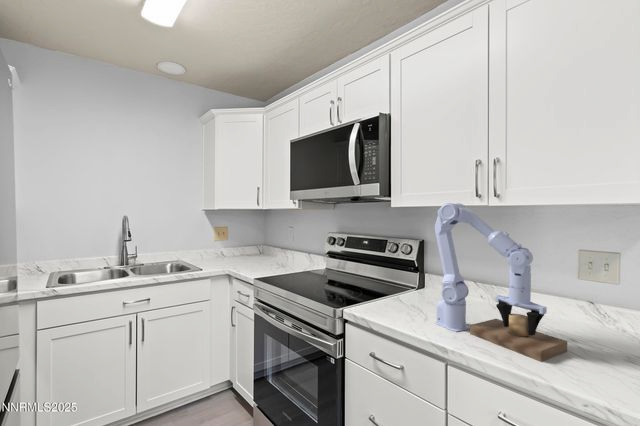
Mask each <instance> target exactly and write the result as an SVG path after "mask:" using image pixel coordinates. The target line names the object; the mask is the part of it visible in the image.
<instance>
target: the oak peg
mask: <svg viewBox="0 0 640 426" xmlns="http://www.w3.org/2000/svg"><path fill="white" fill-rule="evenodd" d="M528 328H529V324H528V317H527V315H524V314H519V313H511V314H509V333H510V334H512V335H514V336H518V337H529V332H528Z"/></svg>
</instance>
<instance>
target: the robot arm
mask: <svg viewBox="0 0 640 426" xmlns="http://www.w3.org/2000/svg"><path fill="white" fill-rule="evenodd" d="M458 223H464V224H468V225H470V226H471V227H472V228H474V229H475V230H476V231H478V232H479V233H481V234H482V235H483V236H484V237H486V239H487V243H488V245H489V246H490V247H491V248H493V250H495V251H497V252H498V253H499V254H500V255H501V256H503V258H505V259H506V261H507V263H508V264H509V271H508V272H509V277H508V278H509V279H508V280H509V281H508V285H509V286H508V296H504V295H495V300H494V301H495V302H496V303H497V304H496V306H495V307H496V308H497V310H498V311H499V312H498V313H499V314H500V317H501V320H502V321H503V324H504V327H509V314H512V309H513V307H517V308H520V309H523V310H527V312H526V316H527V317H528V324H529V328H528V332H529V335H531V336H532V335H535V332H536V331H537V329H538V326H539V324H540V321H541V320H542V319H543V317H544V316H545V314H547V306H543V305H541V304H538V303H535V302H532V301H531V299H532V298H531V295H532V294H531V293H532V292H531V291H532V290H531V289H532V288H531V287H532V284H531V283H532V280H531V279H532V273H531V270H532V269H531V264H532V262H533V261H534V257H533V254H532V252H531V251H530V250H529V249H528V248H527V247H523V245H522V244H521V243H517V242H516V241H515V240H514V239H513V238H512V237H510V234H509V233H508V232H504V231H501V230H499V231H498V230H497V231H496V230H495V229H494V228H492V227H491V226H490V225H489V224H488V223H487V222H485V220H483V219H482V218H481V217H479V215H477V214H476V213H475V212H474V211H473V210H472V209H470V208H469V207H466V206H465V205H464V204H463V203H459V202H458V203H454V202H453V203H451V202H445V203H444V204H442V206H440V208H439V209H437V217H436V221H435V224H434V232H435V237H436V242H437V249H438V251H439V252H438V253H439V258H440V263H441V267H442V272H443V273H442V274H443V277H442V281H441V286H442V287H441V291H440V292H441V293H440V294H441V297H442V298H441V299H439V301H438V302H437V304H436V321H434V324H435V325H438V326H440V327H443V328H445V329H448V330H450V331H452V332H455V333H458V332H459V333H460V332H463V331H466V330H470V325H467V316H466V314H467V301H466V298H467V297H468V296H469V292H470V291H469V287H468V286H467V284H466V282H465V279H464V277H463V276H462V274H461V273H460V268H459V264H458V259H457V255H456V250H455V249H456V248H455V245H454V239H453V236H452V230H453V228H454V227H455V226H456V225H457V224H458Z"/></svg>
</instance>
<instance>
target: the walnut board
mask: <svg viewBox="0 0 640 426" xmlns="http://www.w3.org/2000/svg"><path fill="white" fill-rule="evenodd" d="M469 326H470V329H469V335H473V336H475V337H478V338H480V339H482V340H485V341H487V342H490V343H493V344H495V345H497V346H501V347H502V348H505V349H507V350H510V351H512V352H516V353H518V354H521V355H524V356H525V357H528V358H531V359H534V360H536V361H538V362H543V361H547V360H548V359H551V358H554V357H556V356H559V355H561V354H564V353H566V352H568V341H567V340H565V339H561V338H557V337H555V336H553V335H549V334H546V333H543V332H540V331H537V330H536V332H535V335H532V336H531V335H529V337H518V336H514V335H512V334H510V333H509V327H504V324H503V320H502V319H498V318H493V319H489V320H485V321H481V322H477V323H472V324H470V325H469Z"/></svg>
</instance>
